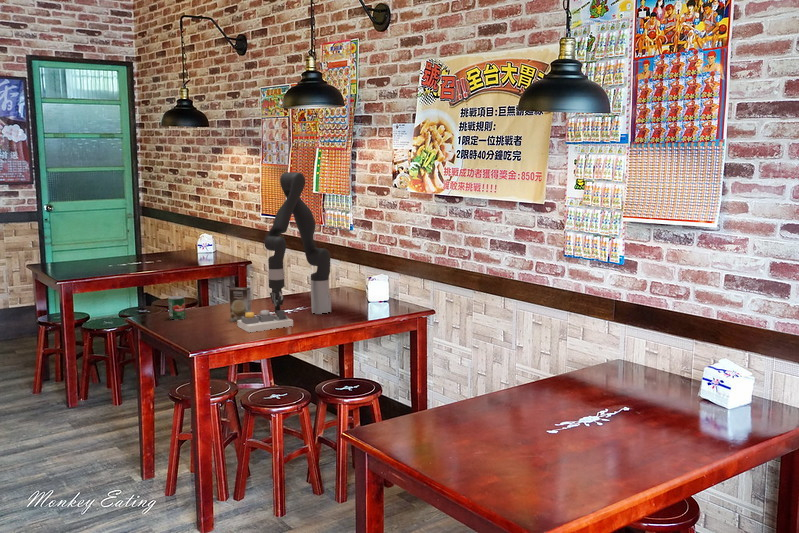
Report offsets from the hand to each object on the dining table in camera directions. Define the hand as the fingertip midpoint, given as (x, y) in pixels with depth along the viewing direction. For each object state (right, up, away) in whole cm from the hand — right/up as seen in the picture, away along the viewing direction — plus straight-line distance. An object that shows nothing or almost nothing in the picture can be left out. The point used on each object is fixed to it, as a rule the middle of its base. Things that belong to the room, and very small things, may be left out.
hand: (277, 313), depth 357 cm
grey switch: (-5, -1, -4) cm, 7 cm away
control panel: (-5, -6, -4) cm, 9 cm away
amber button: (-12, -2, -8) cm, 14 cm away
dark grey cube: (+2, -2, -2) cm, 4 cm away
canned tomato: (-52, -4, +15) cm, 55 cm away
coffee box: (-20, -4, +10) cm, 22 cm away
